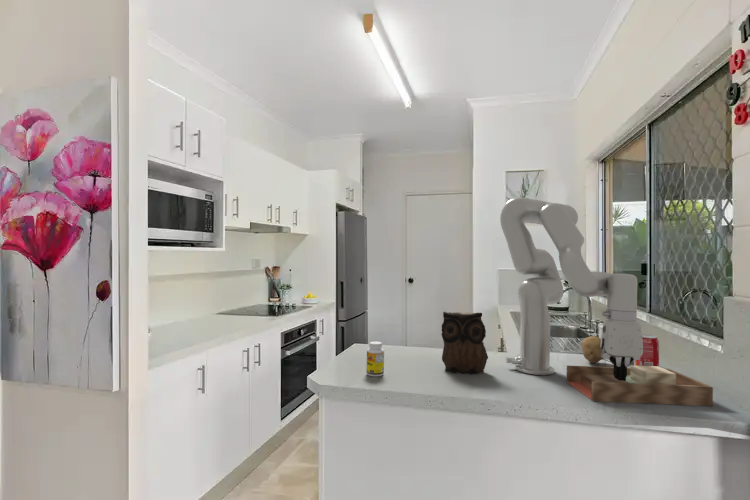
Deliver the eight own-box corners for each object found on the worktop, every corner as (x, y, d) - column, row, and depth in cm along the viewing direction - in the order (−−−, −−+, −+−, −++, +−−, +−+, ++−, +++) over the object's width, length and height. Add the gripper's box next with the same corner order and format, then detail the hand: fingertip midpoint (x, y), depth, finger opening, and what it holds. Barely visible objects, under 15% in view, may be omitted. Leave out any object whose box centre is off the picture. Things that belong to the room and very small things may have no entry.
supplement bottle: (363, 373, 136) (364, 341, 137) (379, 371, 139) (379, 340, 139) (370, 377, 131) (371, 345, 131) (386, 376, 134) (387, 343, 134)
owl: (489, 373, 139) (490, 312, 140) (459, 378, 133) (461, 314, 133) (463, 364, 150) (464, 308, 151) (435, 368, 144) (436, 309, 144)
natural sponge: (609, 362, 157) (609, 336, 157) (607, 368, 149) (608, 339, 150) (582, 359, 162) (582, 333, 162) (579, 364, 154) (580, 336, 154)
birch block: (645, 387, 118) (646, 372, 118) (630, 378, 126) (630, 365, 126) (675, 388, 117) (675, 373, 117) (658, 379, 125) (658, 366, 125)
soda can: (663, 378, 138) (663, 338, 138) (638, 376, 139) (639, 337, 140) (653, 372, 145) (653, 334, 145) (630, 370, 146) (630, 333, 146)
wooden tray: (593, 401, 114) (593, 382, 114) (566, 381, 132) (566, 365, 132) (712, 405, 112) (712, 387, 112) (669, 385, 130) (669, 369, 130)
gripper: (601, 317, 119) (600, 382, 119) (655, 319, 119) (654, 384, 118) (589, 313, 127) (587, 374, 126) (640, 315, 126) (638, 376, 126)
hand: (619, 379), depth 122 cm, fingers closed
